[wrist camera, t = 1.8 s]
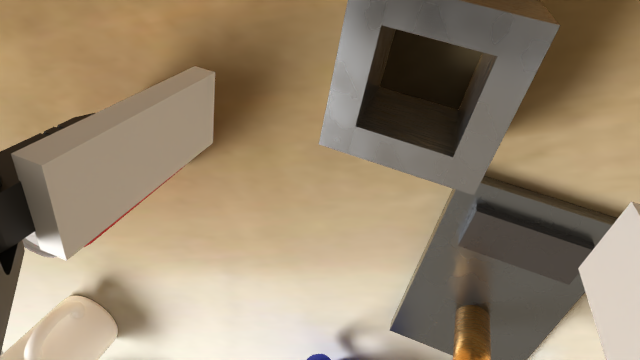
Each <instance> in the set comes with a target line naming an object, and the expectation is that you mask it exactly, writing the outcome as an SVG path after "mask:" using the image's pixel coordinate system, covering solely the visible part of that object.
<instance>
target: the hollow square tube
mask: <svg viewBox="0 0 640 360" xmlns="http://www.w3.org/2000/svg"><path fill="white" fill-rule="evenodd" d="M559 27H560V25H559V23H558V22H557V21H556V20H555V19H554V17H553V16H552V15H551V14H550V12H549V11H548V10H547V9H546V8H545V6H544V5H543V4H542V3H541V2H540V1H538V0H348V3H347V8H346V13H345V18H344V23H343V28H342V33H341V38H340V42H339V47H338V52H337V57H336V62H335V67H334V72H333V77H332V82H331V87H330V92H329V97H328V102H327V107H326V112H325V116H324V121H323V126H322V131H321V136H320V141H319V145H322V146H325V147H328V148H331V149H334V150H337V151H341V152H344V153H347V154H350V155H353V156H356V157H359V158H362V159H365V160H368V161H371V162H374V163H377V164H380V165H383V166H386V167H389V168H392V169H395V170H398V171H401V172H404V173H407V174H410V175H413V176H416V177H420V178H423V179H426V180H429V181H432V182H435V183H438V184H441V185H444V186H447V187H450V188H453V189H456V190H459V191H462V192H465V193H468V194H471V195H474V194H475V192H476V190H477V188H478V186H479V185H480V183H481V181H482V179H483V177H484V175H485V173H486V171H487V169H488V167H489V165H490V163H491V161H492V159H493V157H494V155H495V153H496V151H497V149H498V147H499V145H500V143H501V141H502V139H503V137H504V135H505V133H506V131H507V129H508V127H509V125H510V123H511V121H512V120H513V118H514V116H515V114H516V112H517V110H518V108H519V106H520V104H521V102H522V100H523V98H524V96H525V94H526V92H527V90H528V88H529V86H530V84H531V82H532V80H533V78H534V76H535V74H536V72H537V70H538V68H539V66H540V64H541V62H542V60H543V58H544V56H545V55H546V53H547V51H548V49H549V47H550V45H551V43H552V41H553V39H554V37H555V35H556V33H557V31H558V29H559ZM396 29H398V30H401V31H405V32H409V33H413V34H416V35H420V36H424V37H427V38H431V39H435V40H439V41H442V42H446V43H450V44H453V45H457V46H461V47H465V48H468V49H472V50H476V51H479V52H482V54H481V56H480V59H479V61H478V64H477V66H476V69H475V71H474V73H473V76H472V78H471V81H470V83H469V85H468V88H467V90H466V93H465V95H464V98H463V100H462V102H461V105H460V107H459V110H457V109H454V108H450V107H447V106H444V105H440V104H437V103H433V102H430V101H427V100H423V99H420V98H417V97H413V96H410V95H406V94H403V93H400V92H396V91H393V90H390V89H386V88H383V87H380V84H381V80H382V77H383V73H384V70H385V66H386V62H387V59H388V55H389V52H390V48H391V44H392V41H393V37H394V34H395V30H396Z"/></svg>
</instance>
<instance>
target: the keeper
mask: <svg viewBox="0 0 640 360" xmlns="http://www.w3.org/2000/svg"><path fill="white" fill-rule="evenodd" d="M617 219H618V218H614V217H611V216H608V215H605V214H602V213H599V212H596V211H593V210H589V209H586V208H583V207H580V206H577V205H574V204H571V203H568V202H564V201H561V200H558V199H555V198H552V197H549V196H546V195H542V194H539V193H536V192H533V191H530V190H527V189H524V188H521V187H517V186H514V185H511V184H508V183H505V182H502V181H499V180H496V179H492V178H489V177H486V176H484V177H483V179H482V181H481V183H480V185H479V186H478V188H477V190H476V192H475V194H474V195H471V194H468V193H465V192H462V191H459V190H456V189H453V190H452V192H451V194H450V196H449V198H448V201H447V203H446V205H445V207H444V209H443V211H442V214H441V216H440V218H439V220H438V222H437V224H436V227H435V229H434V231H433V233H432V235H431V237H430V239H429V242H428V244H427V246H426V248H425V250H424V252H423V255H422V257H421V259H420V261H419V263H418V265H417V268H416V270H415V272H414V274H413V276H412V278H411V280H410V283H409V285H408V287H407V289H406V291H405V293H404V296H403V298H402V300H401V302H400V304H399V306H398V309H397V311H396V313H395V315H394V317H393V319H392V322H391V327H390V331H393V332H395V333H398V334H400V335H403V336H405V337H408V338H410V339H413V340H415V341H418V342H420V343H423V344H426V345H428V346H431V347H433V348H436V349H438V350H441V351H443V352H446V353H448V354H451V355H453V360H527V358H528V357H529V356H530V355H531V354H532V353H533V351H534V350H535V349H536V348H537V347H538V346H539V345H540V343H541V342H542V341H543V340H544V339H545V338H546V336H547V335H548V334H549V333H550V332H551V331H552V330H553V328H554V327H555V326H556V325H557V324H558V323H559V321H560V320H561V319H562V318H563V317H564V316H565V315H566V313H567V312H568V311H569V310H570V309H571V308H572V306H573V305H574V304H575V303H576V302H577V301H578V300H579V298H580V297H581V296H582V295H583V294H584V293H585V289H584V286H583V282H582V279H581V276H580V273H579V269H578V268H579V267H580V265H581V264H582V263H583V262H584V260H585V259H586V258H587V257H588V255H589V254H590V253H591V252H592V250H593V249H594V248H595V247H596V245H597V244H598V243H599V242H600V240H601V239H602V238H603V237H604V235H605V234H606V233H607V232H608V230H609V229H610V228H611V226H612V225H613V224H614V223H615V221H616V220H617Z"/></svg>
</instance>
